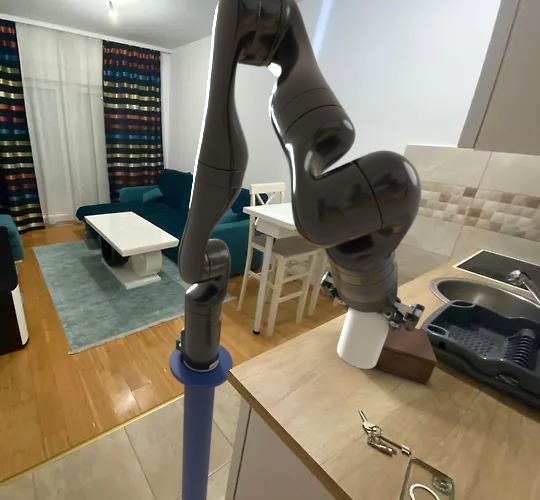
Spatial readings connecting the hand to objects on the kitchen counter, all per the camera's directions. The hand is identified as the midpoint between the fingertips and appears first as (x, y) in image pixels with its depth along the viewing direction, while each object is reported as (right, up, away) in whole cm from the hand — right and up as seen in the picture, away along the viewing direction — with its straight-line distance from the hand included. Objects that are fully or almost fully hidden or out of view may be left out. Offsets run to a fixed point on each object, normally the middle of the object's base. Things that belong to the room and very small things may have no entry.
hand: (371, 315), depth 51 cm
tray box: (+19, -16, +25) cm, 35 cm away
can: (-1, -8, +2) cm, 9 cm away
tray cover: (+19, -10, +23) cm, 31 cm away
